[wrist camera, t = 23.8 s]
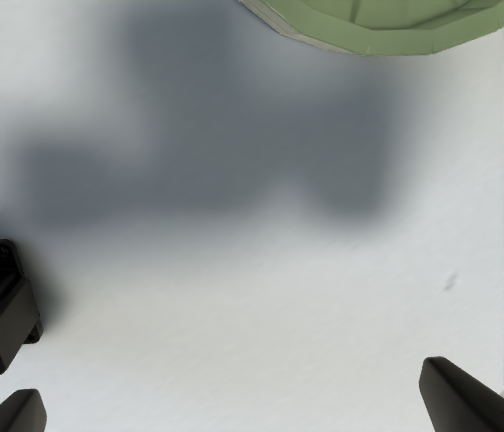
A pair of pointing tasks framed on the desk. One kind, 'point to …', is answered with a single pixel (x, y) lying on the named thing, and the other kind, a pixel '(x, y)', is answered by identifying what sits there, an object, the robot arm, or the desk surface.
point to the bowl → (381, 23)
